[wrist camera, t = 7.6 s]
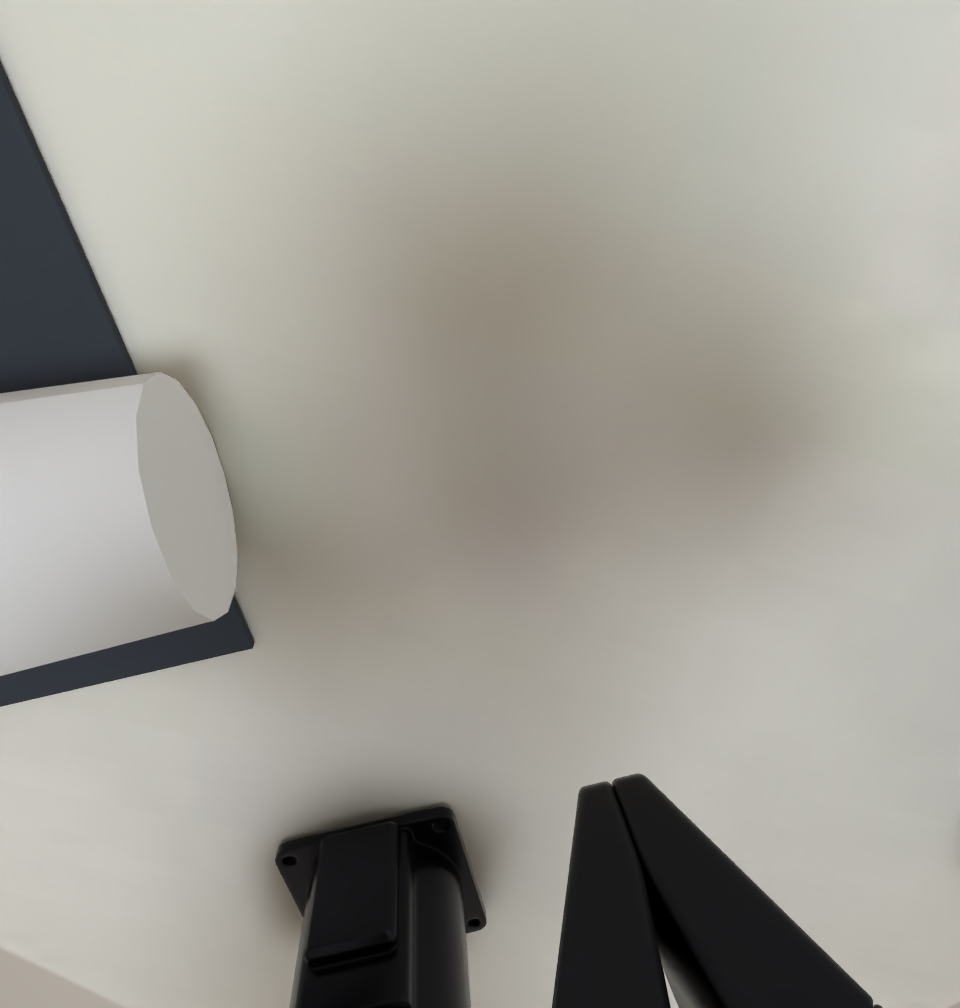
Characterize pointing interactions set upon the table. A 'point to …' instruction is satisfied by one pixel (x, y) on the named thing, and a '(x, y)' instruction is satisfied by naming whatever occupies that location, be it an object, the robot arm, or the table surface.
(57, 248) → the rubber mat
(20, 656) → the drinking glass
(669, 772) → the table surface
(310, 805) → the table surface
